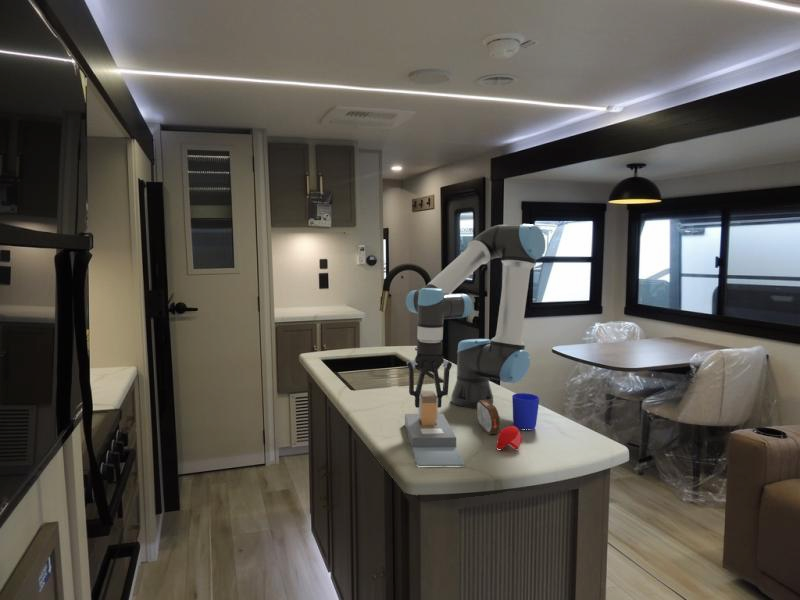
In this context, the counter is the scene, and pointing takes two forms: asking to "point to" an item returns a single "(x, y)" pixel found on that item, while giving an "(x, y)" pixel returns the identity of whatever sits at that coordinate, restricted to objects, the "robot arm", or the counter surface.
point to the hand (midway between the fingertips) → (427, 417)
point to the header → (429, 432)
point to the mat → (437, 456)
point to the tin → (488, 417)
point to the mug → (525, 410)
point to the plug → (428, 408)
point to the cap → (509, 437)
